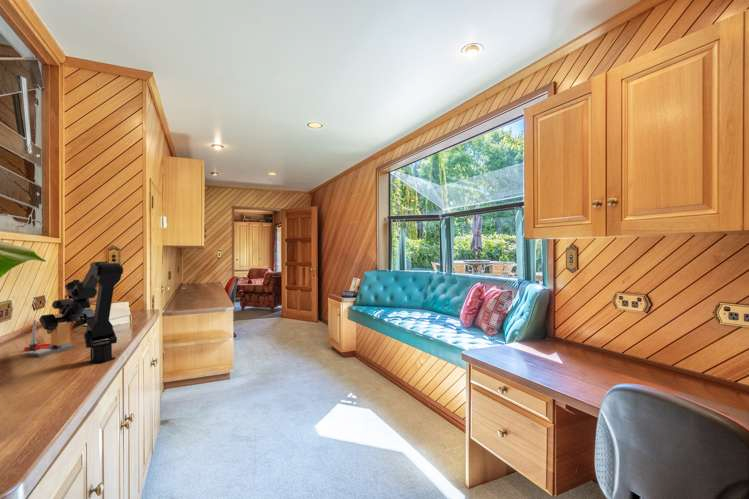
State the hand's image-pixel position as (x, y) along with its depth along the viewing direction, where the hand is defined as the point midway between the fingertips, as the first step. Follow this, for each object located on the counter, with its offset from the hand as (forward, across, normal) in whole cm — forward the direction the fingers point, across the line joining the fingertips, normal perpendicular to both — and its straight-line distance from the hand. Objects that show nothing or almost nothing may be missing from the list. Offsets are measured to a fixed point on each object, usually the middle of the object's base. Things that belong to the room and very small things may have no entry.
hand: (60, 330), depth 153 cm
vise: (+5, +4, +6) cm, 9 cm away
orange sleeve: (+4, 0, +4) cm, 6 cm away
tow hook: (+14, +2, -2) cm, 14 cm away
